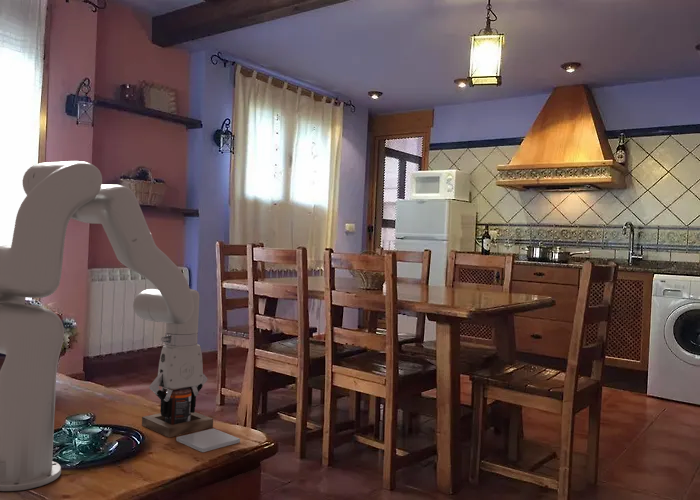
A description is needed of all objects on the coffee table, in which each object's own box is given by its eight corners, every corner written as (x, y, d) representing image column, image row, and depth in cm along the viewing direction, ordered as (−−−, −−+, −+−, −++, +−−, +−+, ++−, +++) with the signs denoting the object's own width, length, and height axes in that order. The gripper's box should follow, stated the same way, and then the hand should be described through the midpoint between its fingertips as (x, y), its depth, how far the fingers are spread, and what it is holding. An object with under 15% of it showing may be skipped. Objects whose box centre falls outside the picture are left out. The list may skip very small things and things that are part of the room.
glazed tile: (202, 452, 124) (202, 448, 124) (176, 440, 131) (176, 437, 131) (239, 442, 132) (239, 438, 132) (213, 431, 139) (213, 428, 139)
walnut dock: (168, 437, 133) (169, 428, 133) (141, 425, 141) (142, 416, 141) (212, 427, 142) (213, 418, 142) (184, 416, 150) (185, 408, 150)
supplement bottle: (195, 425, 142) (197, 379, 142) (176, 431, 137) (178, 383, 137) (178, 421, 146) (180, 375, 146) (159, 426, 141) (161, 379, 141)
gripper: (157, 345, 133) (153, 424, 133) (220, 339, 146) (216, 411, 146) (140, 340, 137) (136, 417, 137) (202, 335, 150) (199, 404, 150)
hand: (178, 413), depth 141 cm, fingers closed on supplement bottle, 6 cm apart
